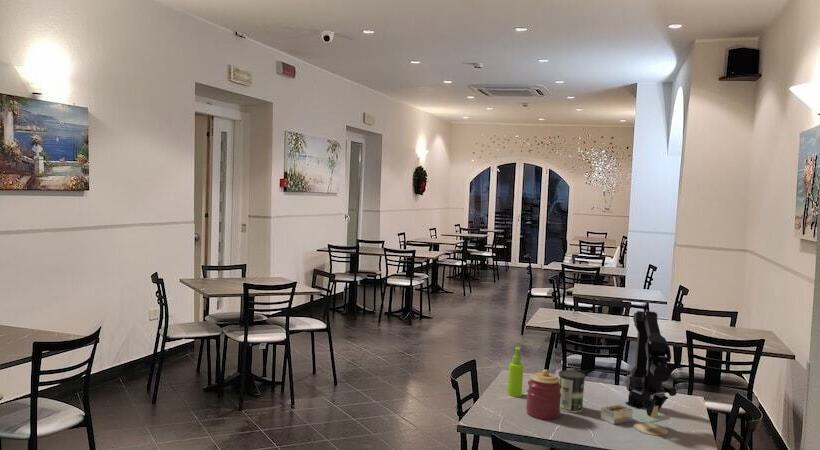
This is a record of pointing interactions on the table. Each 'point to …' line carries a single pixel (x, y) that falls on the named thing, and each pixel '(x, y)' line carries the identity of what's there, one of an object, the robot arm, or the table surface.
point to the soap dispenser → (515, 375)
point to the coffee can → (571, 391)
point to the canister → (544, 395)
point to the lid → (652, 416)
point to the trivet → (650, 428)
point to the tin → (616, 414)
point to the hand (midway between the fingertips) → (651, 414)
